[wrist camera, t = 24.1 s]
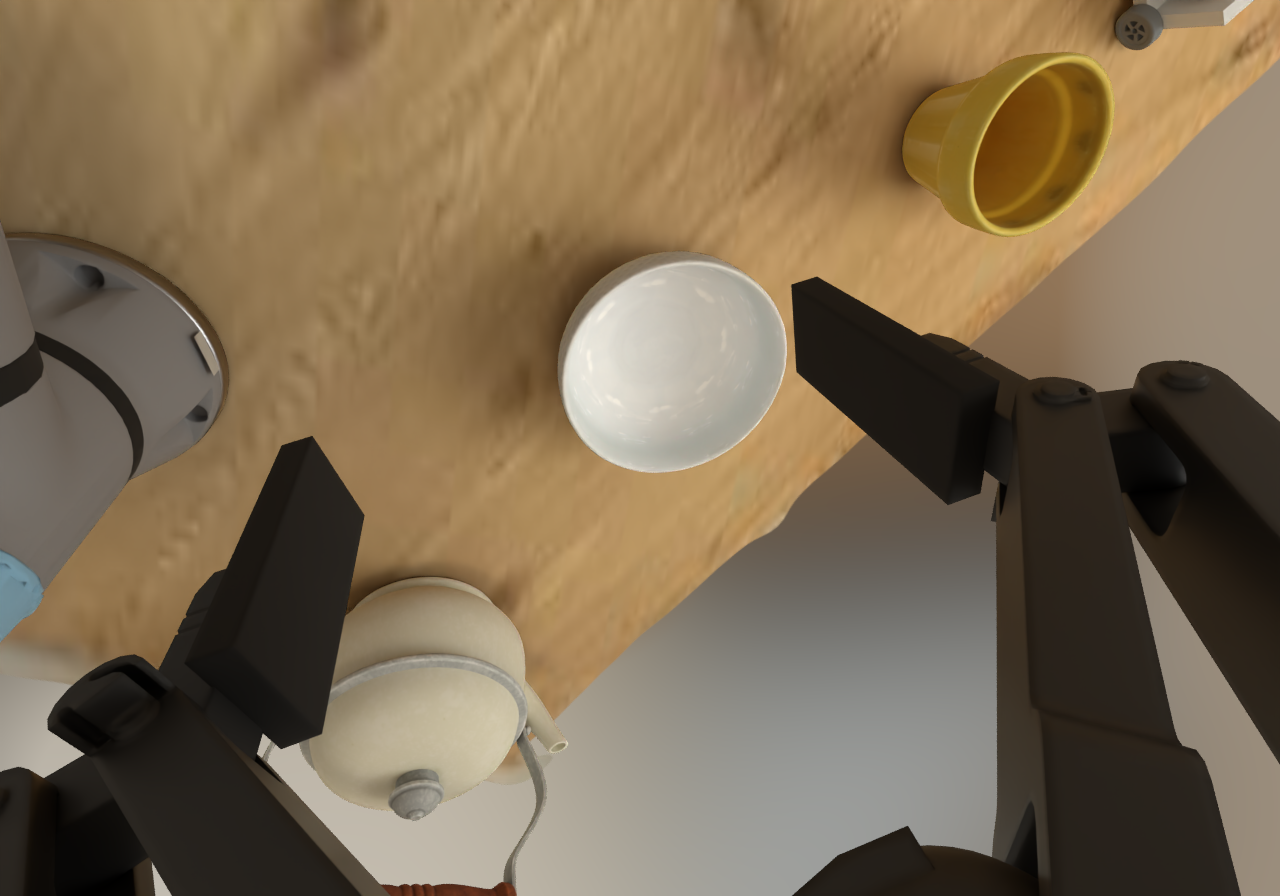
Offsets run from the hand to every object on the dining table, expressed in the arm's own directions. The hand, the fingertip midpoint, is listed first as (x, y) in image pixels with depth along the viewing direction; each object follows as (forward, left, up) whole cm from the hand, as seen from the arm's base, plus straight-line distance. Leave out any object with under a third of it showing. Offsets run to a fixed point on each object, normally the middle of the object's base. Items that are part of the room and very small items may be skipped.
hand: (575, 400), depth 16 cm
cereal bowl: (+8, -13, -29) cm, 33 cm away
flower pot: (+33, -4, -29) cm, 44 cm away
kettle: (-19, -36, -29) cm, 50 cm away
